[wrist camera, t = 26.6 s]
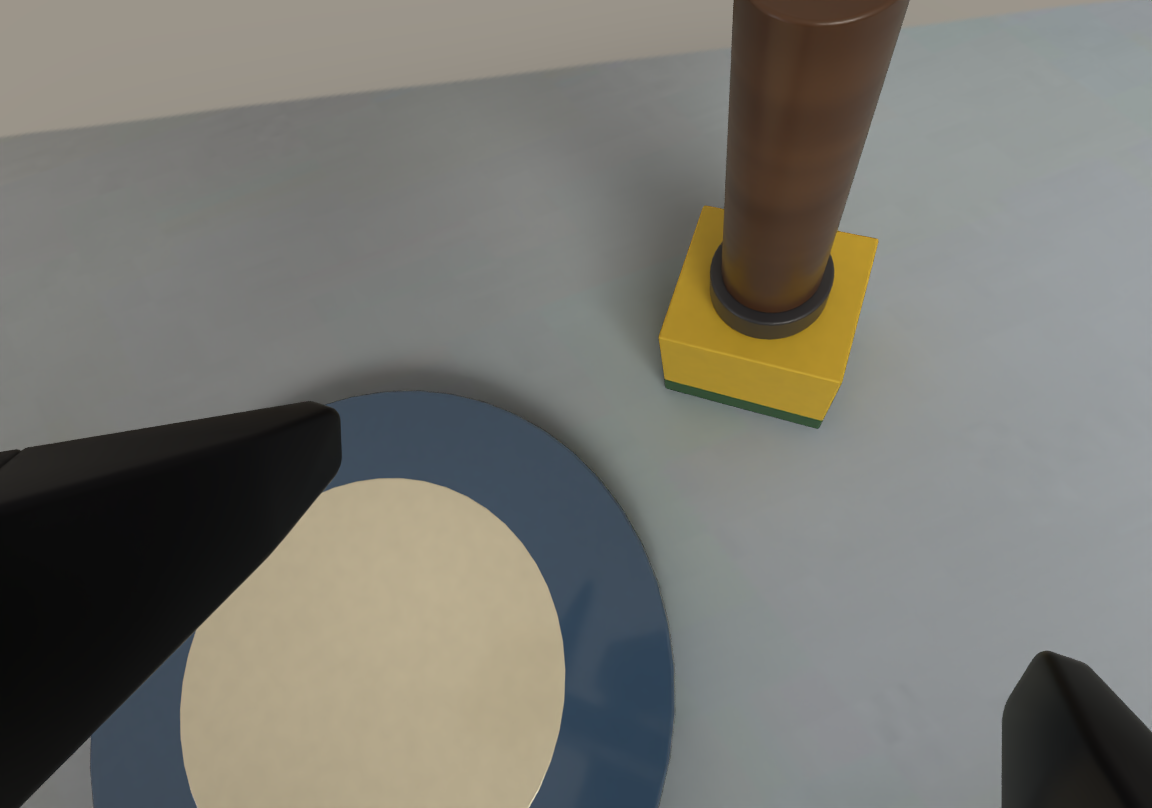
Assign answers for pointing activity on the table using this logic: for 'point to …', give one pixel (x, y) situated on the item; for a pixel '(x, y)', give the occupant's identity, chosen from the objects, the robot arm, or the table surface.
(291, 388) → the table surface
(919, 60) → the table surface
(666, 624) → the plate
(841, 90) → the sponge wand
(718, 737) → the table surface
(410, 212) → the table surface
